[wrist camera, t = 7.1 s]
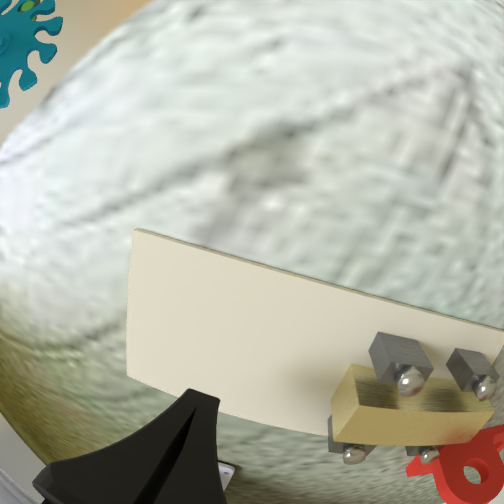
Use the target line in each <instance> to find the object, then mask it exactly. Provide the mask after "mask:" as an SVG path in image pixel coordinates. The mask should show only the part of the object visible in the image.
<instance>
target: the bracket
mask: <svg viewBox="0 0 504 504" xmlns="http://www.w3.org/2000/svg"><path fill="white" fill-rule="evenodd" d="M503 448H504V424H503V425H499V426H495V427H491V428H487V429H483V430H480V431H479V432H478V433H477V434H476V435H475V436H474V437H473V438H472V440H471V441H470V442H468V443H459V444H447V445H445V446H444V447H443V448H442V449H441V450H440V451H439V457H438V458H437V459H436V460H435V461H433V462H431V463H429V464H422V463H421V459H420V456H416V457H415V458H414V460H413V461H412V462H411V463H410V464H409V465H408V466H407V467H406V472H407V477H410V476H417V475H424V474H430V473H433V476H434V479H435V483H436V487H437V490H438V492H439V494H440V496H441V498H442V499H443V500H444V501H445V503H447V504H487V503H489V502H490V501H491V500H492V499H494V498H495V497H496V496H497V495H498V493H499V492H500V491H501V489H502V487H503V484H504V464H503V462H502V460H501V458H500V455H499V452H500V451H501V450H502V449H503ZM464 466H471V467H473V468H475V469H476V470H477V471H478V472H479V474H480V476H481V483H480V484H473V483H471V482H469V481H468V480H467V479H466V477H465V475H464V471H463V468H464Z"/></svg>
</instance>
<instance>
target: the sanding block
mask: <svg viewBox="0 0 504 504" xmlns="http://www.w3.org/2000/svg"><path fill="white" fill-rule="evenodd" d="M330 400H331V413H332V428H333V441H337V442H345V443H355V444H368V445H386V446H429V445H447V444H459V443H468V442H470V441H471V440H472V438H473V437H474V436H475V435H476V434H477V433H478V432H479V431H480V429H481V428H482V427H483V426H484V425H485V424H486V422H487V421H488V420H489V419H490V418H491V416H492V415H493V414H494V412H495V410H494V408H493V406H492V405H491V403H490V402H489V400H488V399H487V400H485V401H479V399H478V398H477V396H476V394H475V393H474V392H462V391H461V389H460V388H459V386H458V384H457V383H456V381H455V379H447V378H438V377H430V376H429V378H428V379H427V381H426V382H425V384H424V387H423V388H422V390H421V391H420V392H419V393H417V394H416V395H414V396H411V397H403V396H401V395H400V393H399V390H398V388H397V385H391V384H384V383H378V380H377V376H376V373H375V370H374V368H373V367H367V366H362V365H357V364H352V363H351V364H350V365H349V367H348V369H347V371H346V373H345V375H344V377H343V378H342V380H341V382H340V384H339V386H338V387H337V389H336V391H335V393H334V394H333V396H332V398H331V399H330Z"/></svg>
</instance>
